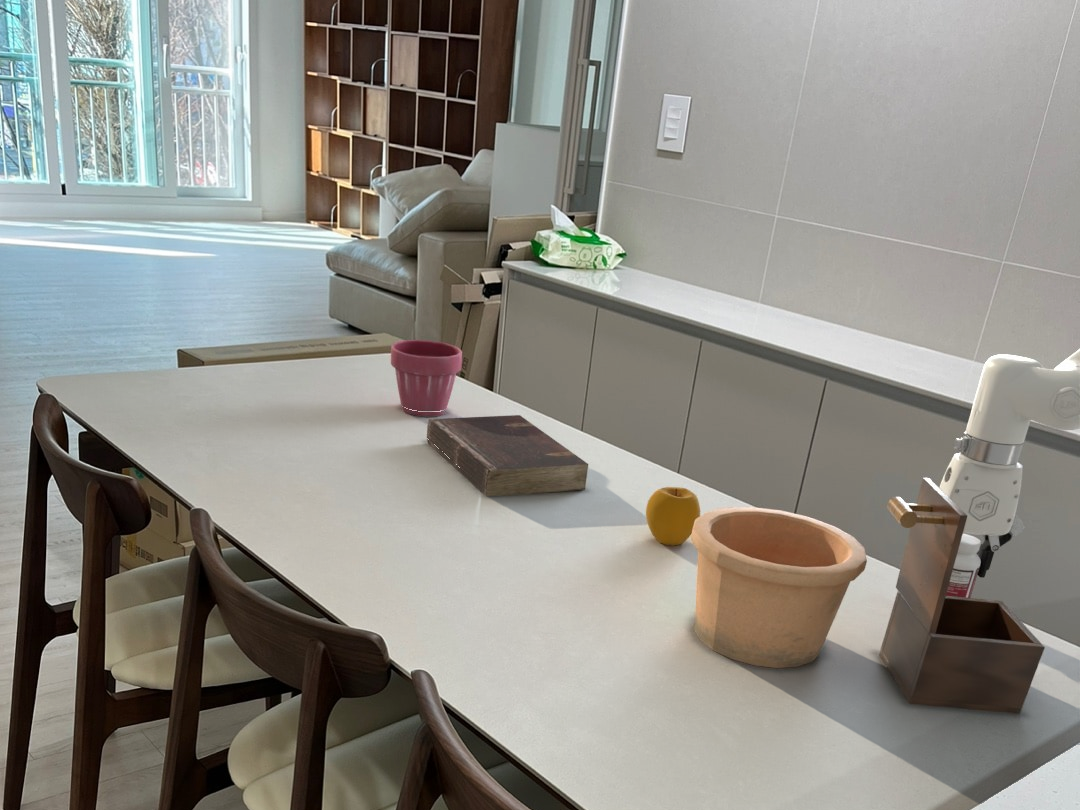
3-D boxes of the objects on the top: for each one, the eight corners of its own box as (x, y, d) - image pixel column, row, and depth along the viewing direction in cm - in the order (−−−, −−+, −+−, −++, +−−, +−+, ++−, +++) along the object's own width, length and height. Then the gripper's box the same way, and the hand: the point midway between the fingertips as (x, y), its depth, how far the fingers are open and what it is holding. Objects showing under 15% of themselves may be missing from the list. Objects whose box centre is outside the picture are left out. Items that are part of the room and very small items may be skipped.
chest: (980, 664, 140) (1002, 600, 136) (1019, 715, 129) (1045, 647, 125) (878, 655, 140) (897, 590, 135) (909, 705, 128) (931, 636, 124)
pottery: (640, 621, 141) (657, 520, 134) (752, 591, 154) (772, 497, 147) (761, 695, 126) (787, 586, 120) (873, 656, 139) (902, 555, 132)
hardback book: (426, 443, 199) (427, 417, 197) (517, 440, 207) (519, 415, 204) (485, 497, 176) (487, 468, 174) (584, 491, 184) (588, 464, 182)
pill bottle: (938, 597, 158) (959, 528, 153) (974, 613, 154) (996, 543, 149) (912, 604, 155) (932, 533, 150) (948, 621, 151) (970, 549, 146)
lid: (929, 478, 128) (881, 475, 128) (967, 515, 117) (916, 512, 117) (901, 587, 135) (856, 585, 135) (935, 633, 124) (886, 630, 123)
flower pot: (420, 424, 209) (424, 359, 203) (374, 406, 217) (376, 343, 211) (472, 414, 219) (476, 352, 213) (425, 397, 227) (429, 337, 221)
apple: (664, 527, 173) (673, 475, 169) (706, 545, 168) (716, 492, 164) (630, 537, 167) (639, 484, 163) (672, 556, 162) (681, 501, 158)
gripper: (937, 452, 140) (903, 577, 148) (1064, 464, 141) (1023, 587, 149) (919, 436, 146) (887, 557, 155) (1040, 447, 147) (1002, 566, 156)
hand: (954, 570), depth 152 cm, fingers closed on pill bottle, 6 cm apart
